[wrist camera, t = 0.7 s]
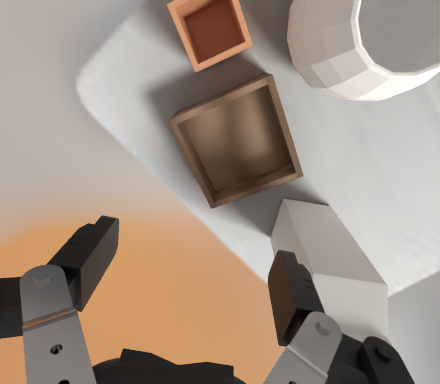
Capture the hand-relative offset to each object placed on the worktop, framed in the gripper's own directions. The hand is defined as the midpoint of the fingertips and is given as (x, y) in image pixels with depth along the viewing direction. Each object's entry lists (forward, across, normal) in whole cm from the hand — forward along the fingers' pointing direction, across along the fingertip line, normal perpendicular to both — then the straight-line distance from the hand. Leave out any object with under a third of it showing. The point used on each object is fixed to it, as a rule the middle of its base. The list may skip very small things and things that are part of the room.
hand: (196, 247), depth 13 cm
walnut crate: (+23, -3, 0) cm, 23 cm away
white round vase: (+23, -11, -14) cm, 29 cm away
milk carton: (+23, -15, +10) cm, 29 cm away
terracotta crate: (+23, +2, -11) cm, 26 cm away
